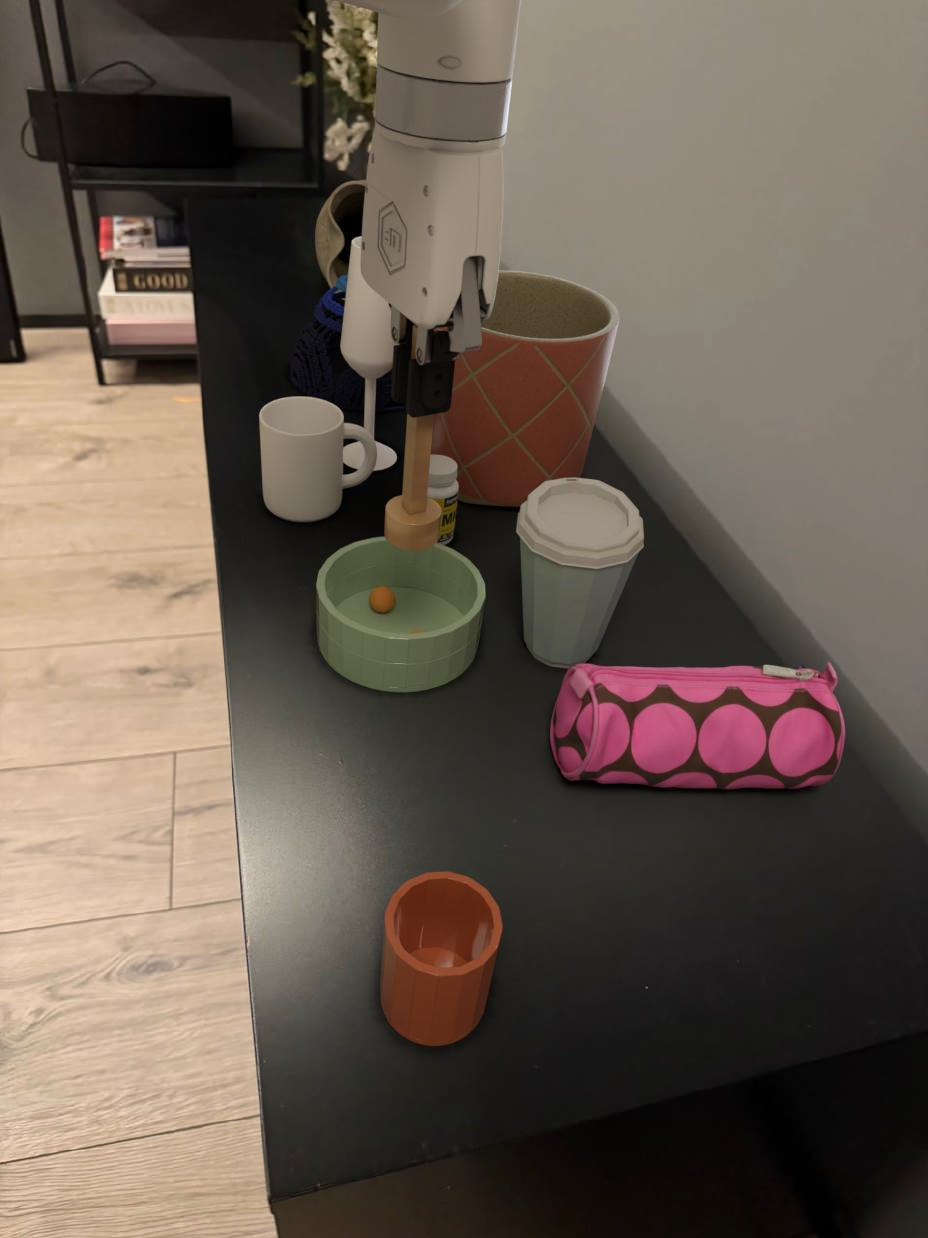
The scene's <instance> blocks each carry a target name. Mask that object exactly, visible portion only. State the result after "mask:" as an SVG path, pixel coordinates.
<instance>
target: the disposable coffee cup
mask: <svg viewBox="0 0 928 1238" xmlns="http://www.w3.org/2000/svg"><path fill="white" fill-rule="evenodd" d="M644 531H645V530H644V520H643V517H641V515H640V510H639V509H638V508H637V507H636V505H635V504H634V503H633V502H632V500H630V498H629V497H628V496H627V495H626V494H625V493H624V492H623V491H621V490H619V489H617V488H616V487H613V486H611V485H609V484H607V483H605V482H603V481H601V480H600V479H593V478H592V479H591V478H584V477H581V478H561V479H555V480H550V481H545V482H543V483H542V484H541V485H540V486H539V487H537V488H536V489H535V490H534V491H533V492H531V493H530V494H529V495H528V499H527V501H526V502H524V503H523V504H522V505H521V507H519V512H518V513H517V519H516V528H515V532H516V534H517V535H518V536H519V543H520V544H519V545H520V569H521V570H520V571H521V595H522V596H521V597H522V599H521V600H522V622H523V623H522V624H523V641H524V643H525V645H526V649H527V650H528V651H529V653H530V654H531V656H532V657H533V659H535V660H537V661H539V662H540V663H543V664H545V665H546V666H549V667H553V668H560V669H569V668H571V667H573V666H574V665H576V664H587V662H588V661H589V660H590V659H591V658H592V657H593V655H594V654H595V653H597V651H598V650H599V647H600V645H601V643H602V640H603V638H604V635H605V633H606V631H607V629H608V627H609V624H610V621H611V619H612V617H613V614H614V612H615V609H616V607H617V605H618V603H619V600H620V598H621V595H622V593H623V591H624V588H625V586H626V584H627V581H628V579H629V577H630V574H631V572H632V569H633V566H635V565H634V564H635V563H636V560H637V558H638V556H639V553H640V551H642V550H643V548H645V544H644V540H645V533H644Z"/></svg>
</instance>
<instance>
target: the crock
mask: <svg viewBox="0 0 928 1238" xmlns="http://www.w3.org/2000/svg"><path fill="white" fill-rule="evenodd" d="M503 930H504V925H503V921H502V914H501V909H500V907H499V905H498V903H497V902H496V901H495V899H494V897H493V896H492V894H491V893H490V891H489V890H488V889H487V888H486V887H484V886H483V885H481V884H480V883H479V882H477V881H476V880H474V879H473V878H472V877H469V876H467V875H463V874H460V873H456V872H452V871H447V870H445V871H429V872H428V871H427V872H424V873H422V874H420V875H416V876H415V877H412V878H410V879H408V880H406V881H405V882H404V883H403V884H402V885H401V886H400V887H399V888H398V889H397V890H396V891H395V892H394V893H393V894H392V895H391V897H390V900H389V902H388V904H387V907H386V910H385V913H384V921H383V933H382V948H381V960H380V961H381V962H380V973H379V1001H380V1006H381V1009H382V1012H383V1014H384V1016H385V1018H386V1020H387V1022H388V1023H389V1025H390V1026H391V1027H392V1028H393V1030H395V1031H396V1032H397V1033H398V1034H399V1035H400V1036H402V1037H404V1038H405V1039H407V1040H408V1041H410V1042H413V1043H415V1044H419V1045H422V1046H427V1047H441V1046H447V1045H451V1044H454V1043H456V1042H458V1041H460V1040H463V1038H465V1037H467V1036H468V1035H470V1033H472V1031H473V1030H475V1028H476V1027H477V1026H478V1024H479V1023H480V1021H481V1020H482V1018H483V1015H484V1013H485V1009H486V1005H487V1002H488V997H489V994H490V988H491V984H492V979H493V975H494V970H495V966H496V962H497V956H498V952H499V948H500V945H501V944H500V943H501V939H502V934H503Z"/></svg>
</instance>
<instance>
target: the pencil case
mask: <svg viewBox="0 0 928 1238" xmlns="http://www.w3.org/2000/svg"><path fill="white" fill-rule="evenodd" d="M838 682H839V678H838V675H837V672H836V670H835V668H834V666H833V665H832V663H831V662H830V661H827V662H826V665H825V670H824V672H823V673H822V672H820V671H819V670H815V669H812V668H806V666H805V664H803V663H801V664H800V665H799V666H798V667H797V668H796V669H793V668H789V667H785V666H778V665H771V664H763V666H757V665H730V666H723V667H698V666H697V667H695V666H676V667H675V666H673V667H672V666H671V667H670V666H669V667H651V666H644V667H643V666H633V665H632V666H629V665H625V666H623V665H620V666H618V665H615V666H613V665H611V666H605V665H604V666H603V665H596V664H593V663H585V664H576V665H574V666H573V667H571V668H568V669H567V671H566V673H565V674H564V677H563V679H562V682H561V686H560V689H559V692H558V695H557V698H556V701H555V704H554V706H553V710H552V715H551V720H550V725H549V726H550V727H549V739H550V746H551V751H552V754H553V758H554V761H555V764H556V765H557V768H559V770H560V772H561V775H562V776H563V777H564V778H565V779H567V780H568V781H571V782H572V781H573V782H574V781H594V782H596V783H598V784H601V785H603V784H604V785H605V784H607V785H608V784H611V785H612V784H613V785H614V784H616V785H617V784H630V785H642V786H643V785H644V786H649V787H655V788H664V789H665V788H677V789H678V788H679V789H718V790H719V789H720V790H738V789H746V788H747V789H748V788H753V789H754V788H755V789H787V790H794V789H795V790H796V789H797V790H798V789H802V788H805V787H808V786H809V787H819V786H823V785H824V784H827V783H828V782H830V780H831V779H832V778H833V777H834V776H835V774H836V773H837V771H838V769H839V767H840V764H841V760H842V758H843V752H844V747H845V740H846V725H845V719H844V715H843V712H842V709H841V706H840V704H839V701H838V699H837V697H836V696H835V694H834V690H835V688H836V687H837V685H838Z"/></svg>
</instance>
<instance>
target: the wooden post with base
mask: <svg viewBox="0 0 928 1238" xmlns="http://www.w3.org/2000/svg"><path fill="white" fill-rule="evenodd" d="M417 328H418V326H417V325H413V334H412V349H411V359H415V358H416V355H415V350H416V339H417ZM433 329H434V334H433V336H434V335H435V334H436V333H437V332H439V331H441V330H440V329H438V328H433ZM406 414H407V413H406ZM406 417H407V418H406V431H405V445H404V461H403V477H402V493H401V495H397V496H394V497H392V498H391V499H389V500H388V502H386V504H385V509H384V510H385V511H384V512H385V513H384V528H383V529H384V530H383V534H384V535H383V536H384V537H385V538H386V540H387V541H388V542H389V543H390V544H391V545H393V546H395V547H397V548H400V549H403V550H409V551H420V550H425V549H428V548H430V547H432V546H434V545H435V544H436V543H437V541H438V540H439V533H440V523H441V512H442V511H441V507H440V506H439V504H438V503H437V502H436V501H434V500H432V499H431V498H428V497H427V491H428V479H429V467H430V455H431V443H432V431H433V419H434V414H432V415H427V416H421V417H415V418H412V417H411V416H410V415H409V414H407V415H406Z"/></svg>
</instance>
